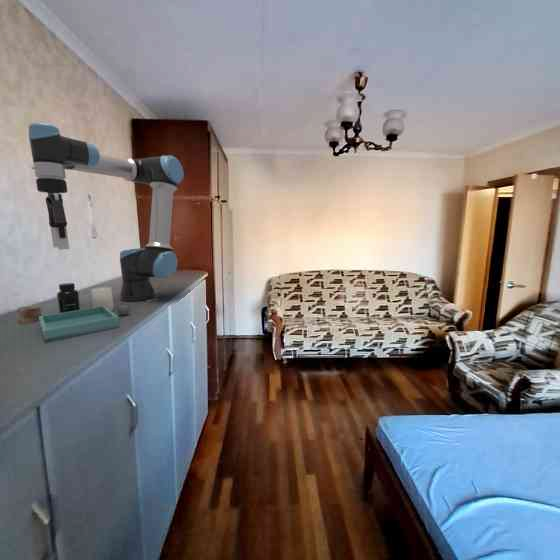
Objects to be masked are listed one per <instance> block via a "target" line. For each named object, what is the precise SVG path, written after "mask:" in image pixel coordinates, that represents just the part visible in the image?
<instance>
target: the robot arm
mask: <svg viewBox="0 0 560 560" xmlns="http://www.w3.org/2000/svg"><path fill="white" fill-rule="evenodd" d="M28 140H29V143H30V150H31V155H32V156H31V157H32V163H33V165H31V169H32V170H34V175H35V177H37V178H36V179H35V183H36V190H37V191H38V192H40V193H47V196H46V198H45V204H46V207H47V213H48V221H49V222H48V224H49V227H50V233H51V240H52V246H53V247H52V248H57V249H58V250H70V244H69V235H68V229H67V225H68V222H67V218H66V213H65V208H64V201H63V200H64V199H63V198H62V197H63V194H66V193H68V186H67V181H66V180H65V179H66V176H67V175H66V170H69V171H76V172H83V173H89V174H95V175H96V174H98V175H103V176H109V177H117V178H122V179H123V180H125V181H127V182H132V183H137V184H142V185H143V184H144V185H149V186H150V188H152V197H151V208H150V209H151V210H150V222H149V223H150V225H149V237H148V238H149V239H148V243H147V244H146V245H144V247H138V248H131V249H124V250H121V251H120V252H119V264H120V272H121V278H122V285H121V289H120V292H119V298H120V299H119V300H120V301H122V302H139V301H147V300H150V299H153V298H155V297H156V291H155V288H154V285H153V284H152V282H151V278H157V279H162V278H163V279H164V278H169V277H171V276H172V275H173V274H174V273H175V272H176V271H177V267H178V258H177V255H176V253H174V250H173V247H172V246H171V243H170V242H171V230H172V229H171V228H172V215H173V200H174V192H176V191H177V190H178V184H179V183H181V182H182V181H183V180H184V176H185V174H184V169H183V166H182V163H181V162H180V161H179V160H178V158H177V157H175V156H173V155H161V156H152V157H145V158H129V157H127V158H124V159H123V158H119V157H113V156H109V155H103V154H100V151H99V149H98V147H97V146H96V145H95V144H92V143H89V142H87V141H83V140H79V139H74V138H70V137H66V136H63V135H61V132H60V129H59V127H58V126H55V125H53V124H50V123H45V122H32V123H30V124H29V125H28Z"/></svg>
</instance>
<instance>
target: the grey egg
mask: <svg viewBox="0 0 560 560" xmlns="http://www.w3.org/2000/svg"><path fill="white" fill-rule="evenodd" d="M129 312H130V308H129V306H128V305H126V304H121V305H119V306H118V307H117V313H118V315H120V316H126V315H128V314H129Z"/></svg>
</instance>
